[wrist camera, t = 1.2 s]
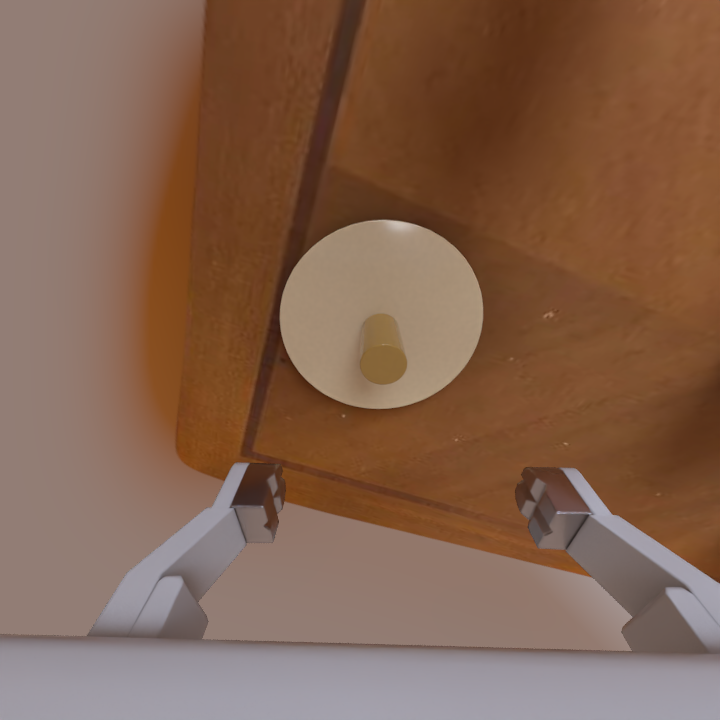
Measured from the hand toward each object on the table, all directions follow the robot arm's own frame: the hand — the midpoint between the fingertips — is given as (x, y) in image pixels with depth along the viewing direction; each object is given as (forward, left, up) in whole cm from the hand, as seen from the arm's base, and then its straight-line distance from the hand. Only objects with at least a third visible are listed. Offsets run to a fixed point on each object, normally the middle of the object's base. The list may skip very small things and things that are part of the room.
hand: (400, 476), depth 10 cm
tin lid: (0, 0, -12) cm, 12 cm away
